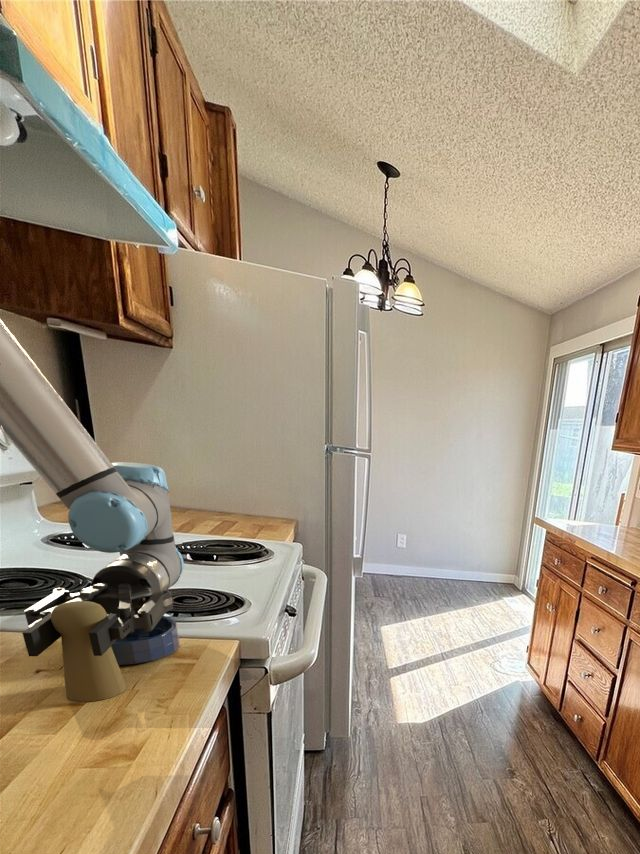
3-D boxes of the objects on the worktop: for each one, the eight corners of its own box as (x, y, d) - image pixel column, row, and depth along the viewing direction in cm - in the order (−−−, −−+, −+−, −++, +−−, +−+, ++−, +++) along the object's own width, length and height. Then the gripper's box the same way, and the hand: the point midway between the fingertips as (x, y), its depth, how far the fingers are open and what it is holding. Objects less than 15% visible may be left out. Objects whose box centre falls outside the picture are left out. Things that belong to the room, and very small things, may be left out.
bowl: (57, 666, 72) (51, 641, 71) (102, 633, 83) (98, 611, 82) (161, 668, 75) (156, 644, 73) (191, 637, 86) (188, 615, 84)
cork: (53, 693, 66) (29, 605, 61) (103, 675, 71) (84, 593, 67) (89, 706, 64) (67, 615, 60) (138, 687, 69) (121, 602, 65)
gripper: (205, 611, 84) (164, 674, 64) (62, 609, 79) (-32, 677, 59) (198, 561, 81) (153, 612, 61) (49, 556, 76) (-55, 610, 56)
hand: (63, 644), depth 60 cm, fingers closed on cork, 5 cm apart
